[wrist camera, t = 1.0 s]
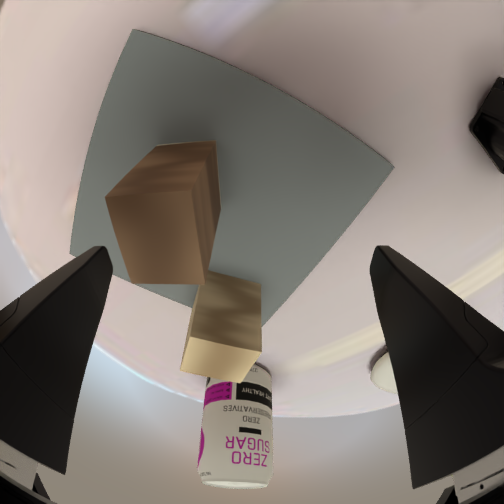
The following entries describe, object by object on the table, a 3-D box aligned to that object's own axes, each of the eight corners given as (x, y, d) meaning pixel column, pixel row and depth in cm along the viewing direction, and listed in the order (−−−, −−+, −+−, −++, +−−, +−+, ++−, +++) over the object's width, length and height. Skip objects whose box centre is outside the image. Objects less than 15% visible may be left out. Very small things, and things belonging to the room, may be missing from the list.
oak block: (260, 283, 25) (261, 352, 19) (243, 319, 28) (240, 383, 22) (203, 268, 24) (189, 336, 18) (192, 307, 27) (179, 370, 21)
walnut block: (216, 140, 18) (191, 190, 11) (221, 207, 21) (205, 284, 14) (157, 144, 18) (104, 197, 11) (167, 209, 21) (131, 283, 14)
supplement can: (214, 388, 38) (205, 487, 26) (202, 358, 33) (187, 477, 21) (271, 388, 38) (273, 489, 26) (270, 357, 33) (273, 480, 21)
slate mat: (391, 164, 19) (394, 167, 18) (257, 327, 29) (257, 331, 29) (136, 29, 13) (133, 29, 13) (72, 250, 24) (69, 253, 23)
